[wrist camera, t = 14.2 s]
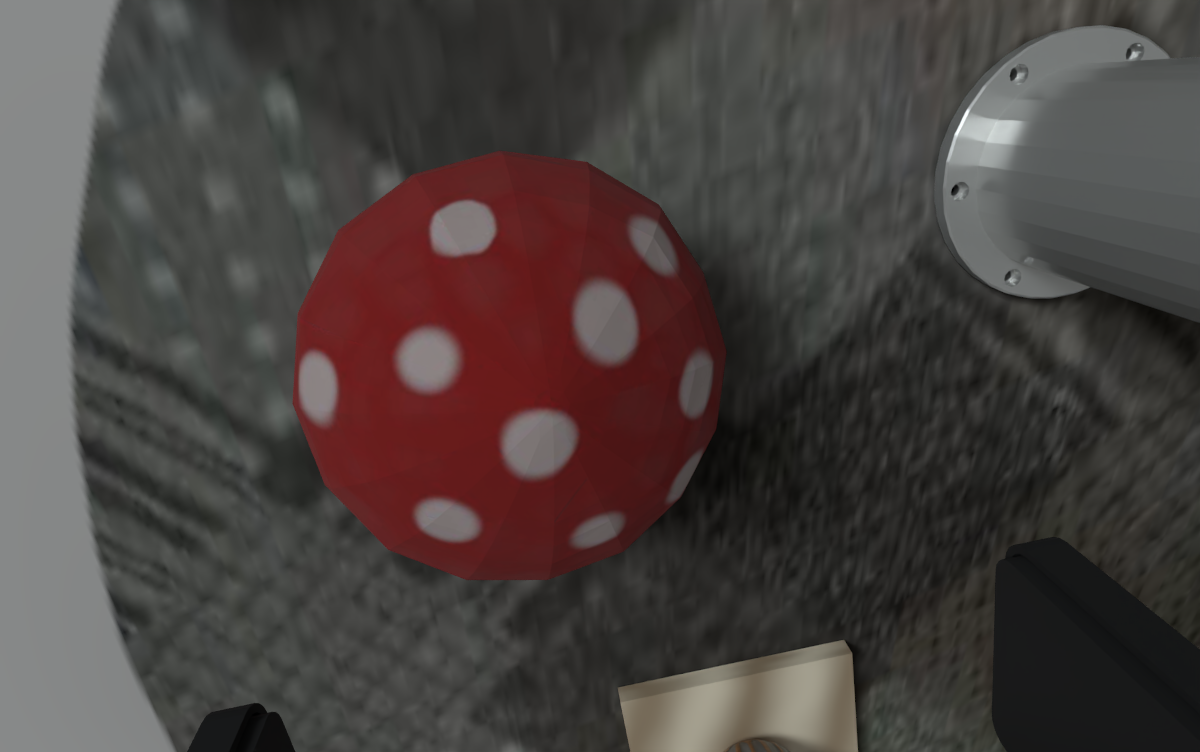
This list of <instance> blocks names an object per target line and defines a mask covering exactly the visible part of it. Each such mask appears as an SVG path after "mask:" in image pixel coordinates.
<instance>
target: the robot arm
mask: <svg viewBox="0 0 1200 752" xmlns="http://www.w3.org/2000/svg"><path fill="white" fill-rule="evenodd" d="M1010 73H1011V77H1010ZM953 187H954V191H953V192H952V193H951V191H952V188H953ZM934 201H935V207H936V214H937V221H938V224H939V227H940V230H941V233H942V235H943V238H944V241H945V243H946V245H947V247H948V248H949V250H950V251H951V253H952V254H953V256H954V258H955V259H956V261H957V262H958V263H959V264H960V265H961V266H962V267H963V268H964V269H965V270H966V271H967V272H968V273H969V274H970V275H971V276H973V277H974V278H976V279H978V280H979V281H981V282H983V283H984V284H986V285H988V286H989V287H992V288H994V289H997V290H999V291H1002V292H1004V293H1007V294H1011V295H1015V296H1020V297H1025V298H1056V297H1061V296H1066V295H1071V294H1075V293H1078V292H1080V291H1083V290H1086V289H1088V288H1091V287H1092V288H1095V289H1098V290H1101V291H1104V292H1107V293H1110V294H1113V295H1116V296H1119V297H1122V298H1125V299H1128V300H1131V301H1134V302H1137V303H1141V304H1144V305H1147V306H1150V307H1153V308H1156V309H1159V310H1162V311H1165V312H1168V313H1171V314H1174V315H1177V316H1180V317H1183V318H1186V319H1189V320H1192V321H1195V322H1198V323H1200V57H1188V58H1171V57H1170V56H1169V55H1168V53H1167V52H1166V51H1164V50H1163V49H1162V48H1160V47H1159V46H1158V45H1157V44H1155V43H1154V42H1153V41H1151V40H1150V39H1149V38H1147V37H1144V36H1142V35H1140V34H1137V33H1135V32H1133V31H1130V30H1128V29H1123V28H1117V27H1111V26H1104V25H1101V26H1087V27H1076V28H1070V29H1065V30H1059V31H1054V32H1051V33H1048V34H1046V35H1043V36H1041V37H1038V38H1036V39H1033V40H1031V41H1028V42H1027V43H1025V44H1023V45H1022V46H1020V47H1019V48H1017V49H1015V50H1014V51H1012V52H1010V53H1009V54H1007V55H1006V56H1004V57H1003V58H1002V59H1001V60H1000V61H999V62H997V63H996V64H995V65H994V66H993V67H992V68H991V69H990V70H988V71H987V72H986V73H985V74H984V75H983V76H982V77H981V78H980V80H979V81H978V82H977V83H976V85H975V86H974V87H973V88H972V89H971V91H970V92H969V93H968V94H967V95H966V97H965V98H964V100H963V102H962V103H961V105H960V107H959V108H958V110H957V112H956V114H955V115H954V117H953V119H952V120H951V122H950V125H949V127H948V130H947V133H946V135H945V138H944V140H943V143H942V145H941V148H940V153H939V158H938V162H937V167H936V172H935V190H934ZM992 720H993V724H994V728H995V731H996V733H997V736H998V738H999V740H1000V742H1001V743H1002V745H1003V746H1004V748H1005V749H1006V751H1007V752H1200V649H1198V648H1197V647H1196V646H1195V645H1193V644H1192V643H1191V642H1190V641H1188V640H1187V639H1186V638H1185V637H1183V636H1182V635H1181V634H1180V633H1178V632H1177V631H1176V630H1175V629H1174V628H1172V627H1171V626H1170V625H1169V624H1167V623H1166V622H1165V621H1164V620H1162V619H1161V618H1160V617H1159V616H1157V615H1156V614H1155V613H1154V612H1152V611H1151V610H1150V609H1149V608H1147V607H1146V606H1145V605H1144V604H1143V603H1141V602H1140V601H1139V600H1138V599H1136V598H1135V597H1134V596H1133V595H1131V594H1130V593H1129V592H1128V591H1126V590H1125V589H1124V588H1123V587H1121V586H1120V585H1119V584H1118V583H1117V582H1115V581H1114V580H1113V579H1112V578H1110V577H1109V576H1108V575H1107V574H1105V573H1104V572H1103V571H1102V570H1100V569H1099V568H1098V567H1097V566H1095V565H1094V564H1093V563H1092V562H1090V561H1089V560H1088V559H1087V558H1086V557H1084V556H1083V555H1082V554H1081V553H1079V552H1078V551H1077V550H1076V549H1074V548H1073V547H1072V546H1071V545H1069V544H1068V543H1067V542H1065V541H1064V540H1062V539H1060V538H1056V537H1051V538H1046V539H1041V540H1036V541H1032V542H1027V543H1022V544H1017V545H1013V546H1011V547H1009V549H1008V551H1007V552H1006V558H1005V559H1003V560H1000V561H999V562H998V563H997V566H996V583H995V621H994V658H993V696H992ZM187 752H295V750H294V748H293V745H292V743H291V740H290V738H289V736H288V733H287V731H286V728H285V726H284V724H283V721H282V719H281V717H280V715H279V714H278V713H276V712H270V713H267V712H266V710H265V708H264V707H263V706H262V705H261V704H259V703H253V704H249V705H244V706H239V707H234V708H229V709H225V710H220V711H215V712H211V713H210V714H208V715H207V716H206V717H205V719H204V720H203V722H202V723H201V725H200V727H199V729H198V731H197V733H196V735H195V737H194V739H193V741H192V743H191V745H190V747H189V749H188V751H187Z"/></svg>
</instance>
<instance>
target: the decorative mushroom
mask: <svg viewBox="0 0 1200 752" xmlns="http://www.w3.org/2000/svg"><path fill="white" fill-rule="evenodd" d="M726 353H727V351H726V348H725V344H724V341H723V337H722V334H721V331H720V327H719V324H718V321H717V317H716V314H715V310H714V307H713V304H712V300H711V297H710V293H709V290H708V287H707V283H706V280H705V277H704V273H703V271H702V270H701V268H700V267H699V265H698V264H697V262H696V261H695V259H694V258H693V256H692V255H691V253H690V252H689V250H688V248H687V247H686V245H685V244H684V242H683V241H682V239H681V238H680V236H679V235H678V233H677V232H676V230H675V229H674V227H673V225H672V224H671V222H670V221H669V219H668V218H667V216H666V215H665V213H664V212H663V210H662V209H661V207H660V206H659V205H658V204H657V203H655V202H653V201H652V200H650V199H648V198H647V197H645V196H643V195H642V194H640V193H638V192H636V191H635V190H633V189H631V188H630V187H628V186H626V185H625V184H623V183H621V182H620V181H618V180H616V179H615V178H613V177H611V176H609V175H608V174H606V173H604V172H603V171H601V170H599V169H598V168H596V167H594V166H593V165H591V164H589V163H588V162H583V161H575V160H568V159H560V158H552V157H544V156H537V155H529V154H521V153H513V152H506V151H497V152H494V153H490V154H486V155H483V156H479V157H475V158H472V159H468V160H464V161H461V162H457V163H454V164H450V165H446V166H443V167H439V168H435V169H432V170H428V171H424V172H421V173H417V174H413V175H412V176H410V177H409V178H408V179H406V180H405V181H403V182H402V183H401V184H399V185H398V186H397V187H395V188H394V189H393V190H391V191H390V192H389V193H387V194H386V195H385V196H383V197H382V198H381V199H379V200H378V201H377V202H375V203H374V204H373V205H371V206H370V207H369V208H367V209H366V210H365V211H363V212H362V213H361V214H359V215H358V216H357V217H355V218H354V219H353V220H351V221H350V222H349V223H347V224H346V225H345V226H343V227H342V228H341V229H339V230H338V232H337V234H336V236H335V238H334V240H333V242H332V244H331V246H330V248H329V250H328V253H327V255H326V257H325V259H324V261H323V263H322V265H321V267H320V269H319V271H318V273H317V275H316V277H315V279H314V281H313V283H312V285H311V287H310V289H309V292H308V294H307V296H306V298H305V300H304V302H303V304H302V306H301V308H300V310H299V312H298V320H297V337H296V355H295V372H294V390H293V406H294V408H295V411H296V413H297V416H298V418H299V421H300V423H301V426H302V428H303V431H304V433H305V436H306V438H307V441H308V443H309V446H310V448H311V451H312V453H313V456H314V458H315V461H316V463H317V466H318V468H319V471H320V473H321V476H322V478H323V481H324V483H325V485H326V486H327V487H328V488H329V489H330V491H331V492H332V493H333V494H334V495H335V496H336V497H337V498H338V499H339V500H340V501H341V502H342V503H343V504H344V505H345V506H346V507H347V508H348V509H349V510H350V511H351V512H352V513H353V514H354V515H355V516H356V517H357V518H358V519H359V520H360V521H361V522H362V523H363V524H364V525H365V526H366V527H367V528H368V529H369V530H370V531H371V532H372V533H373V534H374V536H375V537H376V538H377V539H378V540H379V541H380V542H381V543H382V544H383V545H384V546H385V547H386V548H387V549H388V550H390V551H393V552H396V553H398V554H401V555H403V556H406V557H409V558H411V559H414V560H416V561H419V562H422V563H424V564H427V565H429V566H432V567H435V568H437V569H440V570H442V571H445V572H448V573H450V574H453V575H455V576H458V577H461V578H463V579H466V580H548V579H551V578H554V577H556V576H559V575H562V574H565V573H567V572H570V571H573V570H575V569H578V568H581V567H583V566H586V565H589V564H591V563H594V562H597V561H599V560H602V559H605V558H607V557H610V556H613V555H615V554H618V553H621V552H623V551H624V550H626V549H627V548H628V547H629V546H630V545H631V544H632V543H633V542H634V541H635V540H636V539H637V538H638V537H639V536H640V535H641V534H643V533H644V532H645V531H646V530H647V529H648V528H649V527H650V526H651V525H652V524H653V523H654V522H655V521H656V520H657V519H658V518H659V517H661V516H662V515H663V514H664V513H665V512H666V511H667V510H668V509H669V508H670V507H671V506H672V505H673V504H674V503H675V502H676V501H678V500H679V499H680V498H681V496H682V494H683V492H684V490H685V488H686V486H687V485H688V483H689V481H690V479H691V477H692V475H693V473H694V471H695V469H696V467H697V465H698V463H699V461H700V459H701V457H702V456H703V454H704V452H705V450H706V448H707V446H708V444H709V442H710V440H711V438H712V436H713V434H714V432H715V430H716V428H717V420H718V413H719V405H720V398H721V390H722V383H723V375H724V368H725V360H726Z"/></svg>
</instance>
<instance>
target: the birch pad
mask: <svg viewBox="0 0 1200 752" xmlns="http://www.w3.org/2000/svg"><path fill="white" fill-rule="evenodd" d="M618 691H619V697H620V702H621V707H622V712H623V717H624V722H625V727H626V732H627V737H628V742H629V747H630V752H724V751H725V750H727V749H728V748H729V747H731V746H732V745H734V744H736V743H738V742H741V741H744V740H750V739H760V740H766V741H771V742H774V743H777V744H779V745H781V746H783V747H785V748H787V749H789V750H790V751H791V752H858V745H857V728H856V710H855V693H854V676H853V659H852V652H851V651H850V649H849V647H848V646H847V644H846V642H845V641H844V640H841V641H836V642H831V643H826V644H822V645H817V646H812V647H808V648H803V649H798V650H793V651H789V652H784V653H779V654H774V655H770V656H765V657H760V658H756V659H751V660H746V661H741V662H737V663H732V664H727V665H722V666H718V667H713V668H708V669H703V670H699V671H694V672H689V673H685V674H680V675H675V676H670V677H666V678H661V679H656V680H651V681H647V682H642V683H637V684H633V685H628V686H623V687H618Z"/></svg>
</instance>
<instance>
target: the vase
mask: <svg viewBox="0 0 1200 752" xmlns="http://www.w3.org/2000/svg"><path fill="white" fill-rule="evenodd" d="M724 752H791V751H790V750H789V749H787V748H785V747H783V746H781V745H779V744H777V743H774V742H771V741H766V740H760V739H750V740H744V741H741V742H738V743H736V744H734V745H732V746H731V747H729V748H728V749H727V750H725V751H724Z"/></svg>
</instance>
